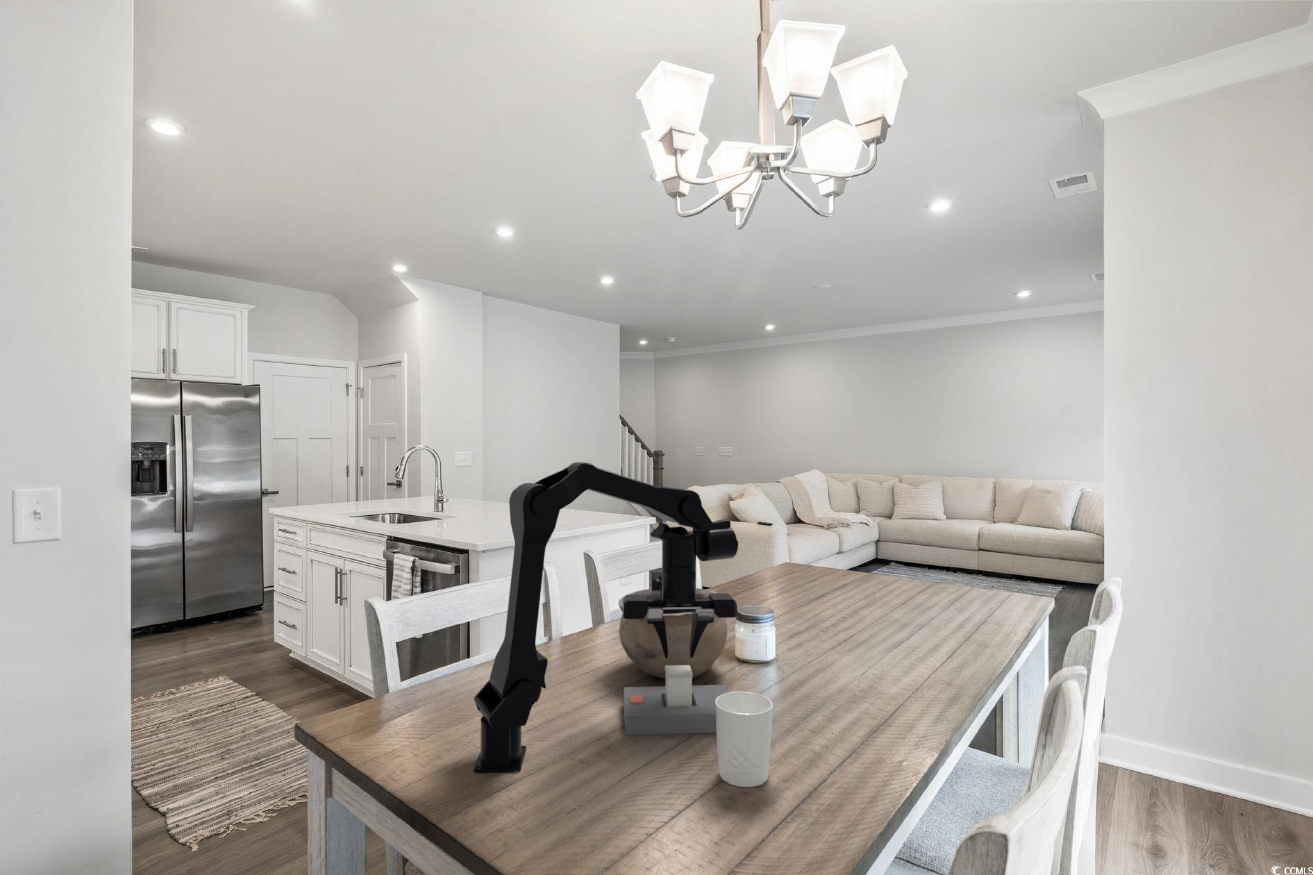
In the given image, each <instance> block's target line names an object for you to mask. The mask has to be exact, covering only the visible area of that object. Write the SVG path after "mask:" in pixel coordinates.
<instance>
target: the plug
mask: <svg viewBox="0 0 1313 875" xmlns="http://www.w3.org/2000/svg"><path fill="white" fill-rule="evenodd" d="M665 671H666V679H665V686H666V695H665V707H671V706H692V686H693V678H694V677H693V674H692V671H691V668H690V665H671V666H665Z"/></svg>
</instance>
